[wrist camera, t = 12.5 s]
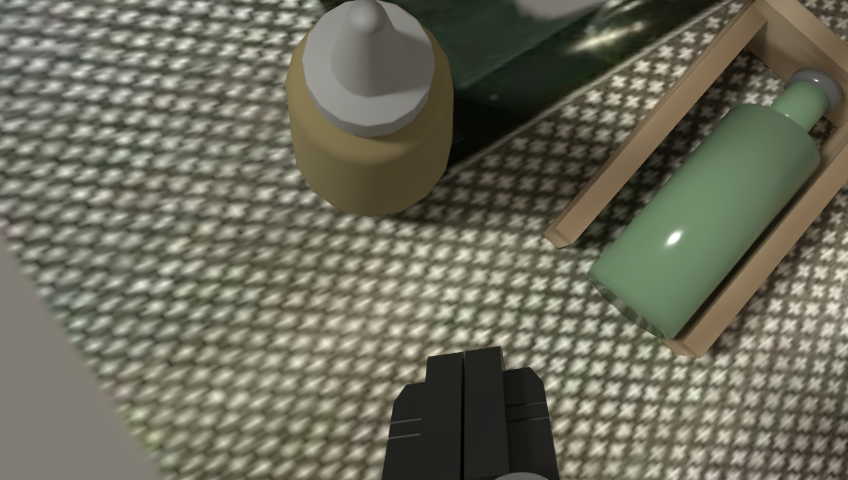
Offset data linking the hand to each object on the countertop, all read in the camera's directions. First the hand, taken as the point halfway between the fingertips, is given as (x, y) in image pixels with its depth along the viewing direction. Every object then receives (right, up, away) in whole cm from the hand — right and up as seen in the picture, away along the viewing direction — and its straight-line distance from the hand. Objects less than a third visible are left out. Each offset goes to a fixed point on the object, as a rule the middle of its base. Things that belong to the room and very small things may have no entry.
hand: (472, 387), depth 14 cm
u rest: (+15, +7, +25) cm, 30 cm away
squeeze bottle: (-4, +8, +24) cm, 26 cm away
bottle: (+10, 0, +21) cm, 24 cm away
